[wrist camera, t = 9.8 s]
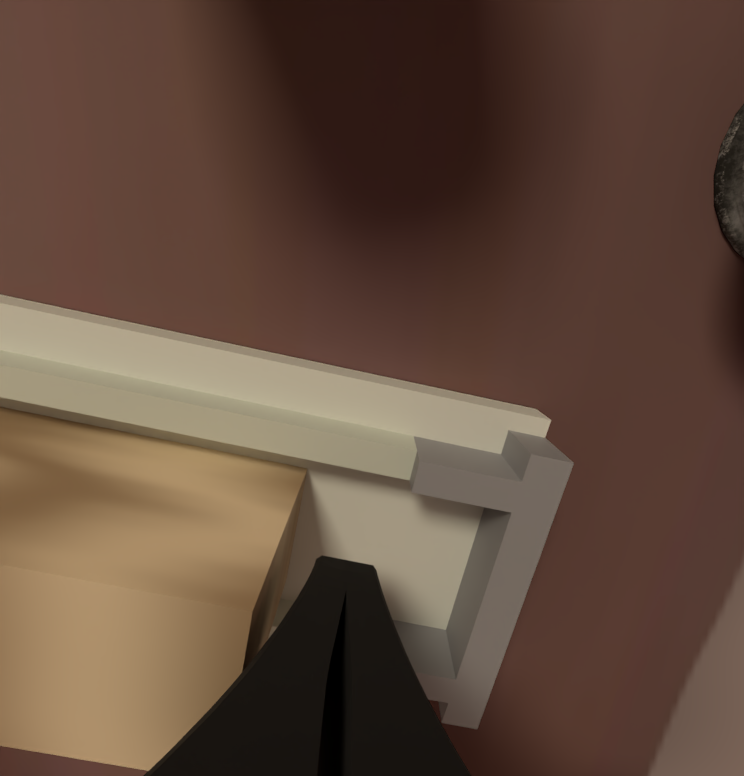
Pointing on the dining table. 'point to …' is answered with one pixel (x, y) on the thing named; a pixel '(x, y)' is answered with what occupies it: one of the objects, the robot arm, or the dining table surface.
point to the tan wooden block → (130, 583)
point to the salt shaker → (731, 184)
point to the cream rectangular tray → (332, 469)
